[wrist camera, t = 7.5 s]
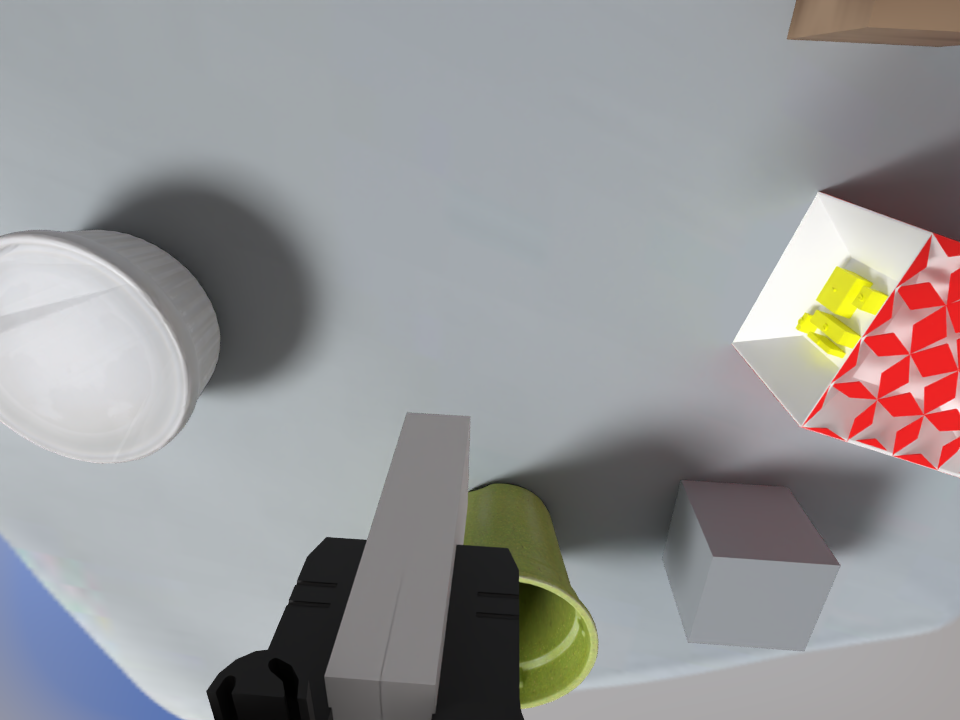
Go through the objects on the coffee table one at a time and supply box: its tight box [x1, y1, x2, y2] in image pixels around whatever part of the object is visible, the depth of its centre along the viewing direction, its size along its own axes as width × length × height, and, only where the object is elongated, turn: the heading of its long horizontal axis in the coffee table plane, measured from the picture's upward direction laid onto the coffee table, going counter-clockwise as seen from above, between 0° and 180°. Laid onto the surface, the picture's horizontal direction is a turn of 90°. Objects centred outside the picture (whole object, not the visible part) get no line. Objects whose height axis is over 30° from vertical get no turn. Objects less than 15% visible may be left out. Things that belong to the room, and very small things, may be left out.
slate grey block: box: [662, 480, 840, 651], centre depth 32 cm, size 6×6×6 cm
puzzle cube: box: [732, 192, 960, 478], centre depth 24 cm, size 8×8×8 cm
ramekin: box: [0, 230, 220, 464], centre depth 28 cm, size 11×11×5 cm
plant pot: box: [463, 484, 598, 709], centre depth 31 cm, size 9×9×9 cm
